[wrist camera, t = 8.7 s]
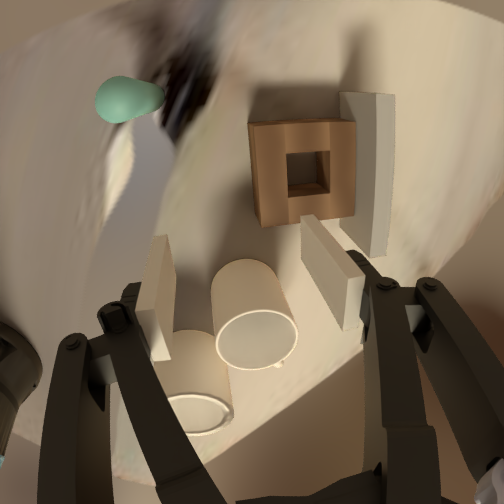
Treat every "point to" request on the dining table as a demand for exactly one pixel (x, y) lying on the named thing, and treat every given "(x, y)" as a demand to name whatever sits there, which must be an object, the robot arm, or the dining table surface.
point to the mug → (196, 383)
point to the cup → (251, 316)
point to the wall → (371, 168)
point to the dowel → (127, 99)
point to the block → (328, 169)
